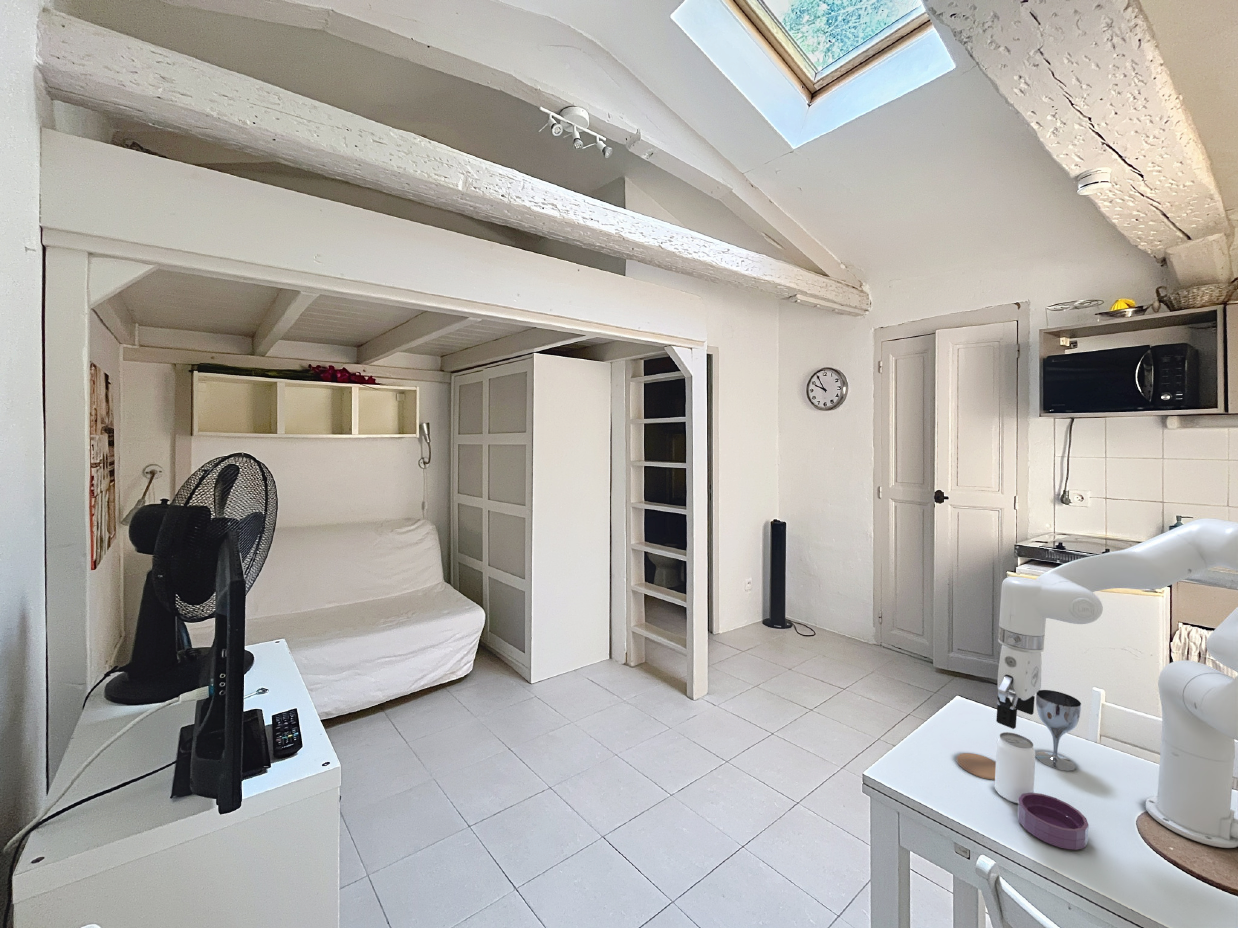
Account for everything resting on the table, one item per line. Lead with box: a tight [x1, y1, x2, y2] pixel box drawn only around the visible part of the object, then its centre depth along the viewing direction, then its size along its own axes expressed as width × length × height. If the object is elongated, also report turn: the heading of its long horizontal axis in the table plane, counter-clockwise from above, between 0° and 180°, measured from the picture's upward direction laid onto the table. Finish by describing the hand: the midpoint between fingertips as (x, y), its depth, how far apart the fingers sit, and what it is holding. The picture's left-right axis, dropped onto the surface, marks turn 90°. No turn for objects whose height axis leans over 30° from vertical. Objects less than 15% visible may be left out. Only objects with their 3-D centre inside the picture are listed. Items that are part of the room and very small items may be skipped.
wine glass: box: [1035, 689, 1082, 772], centre depth 121 cm, size 8×8×15 cm
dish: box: [1016, 792, 1090, 851], centre depth 100 cm, size 10×10×4 cm
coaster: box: [956, 752, 996, 781], centre depth 119 cm, size 9×9×1 cm
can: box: [994, 731, 1036, 805], centre depth 110 cm, size 6×6×12 cm
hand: (1015, 718), depth 109 cm, fingers open, 9 cm apart
